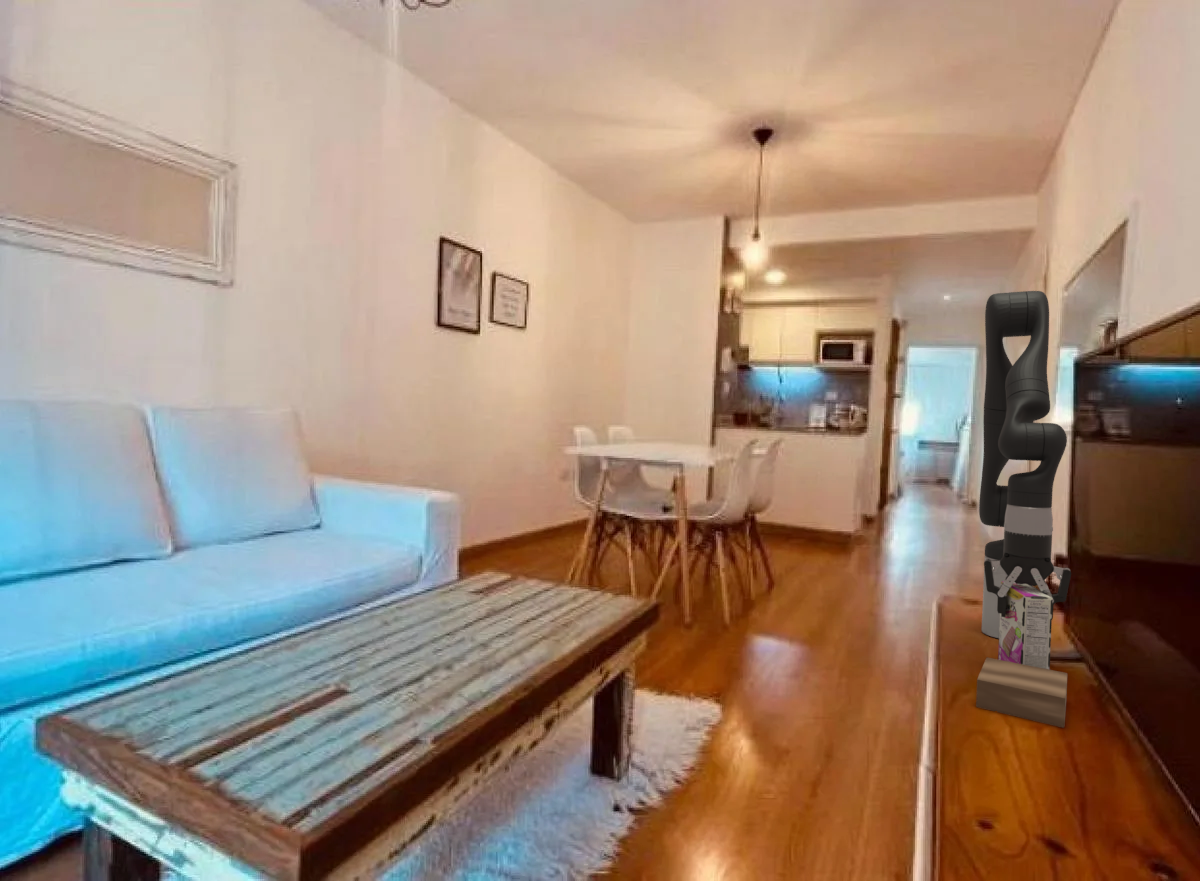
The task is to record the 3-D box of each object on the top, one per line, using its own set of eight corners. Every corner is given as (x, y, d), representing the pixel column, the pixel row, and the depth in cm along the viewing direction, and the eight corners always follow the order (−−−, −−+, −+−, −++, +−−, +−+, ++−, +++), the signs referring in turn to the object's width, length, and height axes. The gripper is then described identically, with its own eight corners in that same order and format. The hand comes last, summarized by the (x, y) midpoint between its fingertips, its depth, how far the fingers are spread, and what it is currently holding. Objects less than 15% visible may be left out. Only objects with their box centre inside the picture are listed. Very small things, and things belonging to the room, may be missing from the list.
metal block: (985, 684, 121) (986, 657, 121) (1066, 701, 114) (1067, 673, 114) (976, 709, 111) (977, 679, 110) (1064, 730, 103) (1065, 698, 103)
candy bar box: (995, 662, 131) (999, 580, 130) (1023, 665, 130) (1027, 582, 129) (1019, 685, 120) (1023, 594, 119) (1050, 688, 119) (1054, 597, 118)
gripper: (1073, 531, 123) (1069, 621, 124) (984, 523, 131) (980, 608, 132) (1076, 537, 117) (1072, 631, 118) (982, 528, 125) (978, 617, 125)
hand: (1024, 618), depth 125 cm, fingers closed on candy bar box, 6 cm apart
